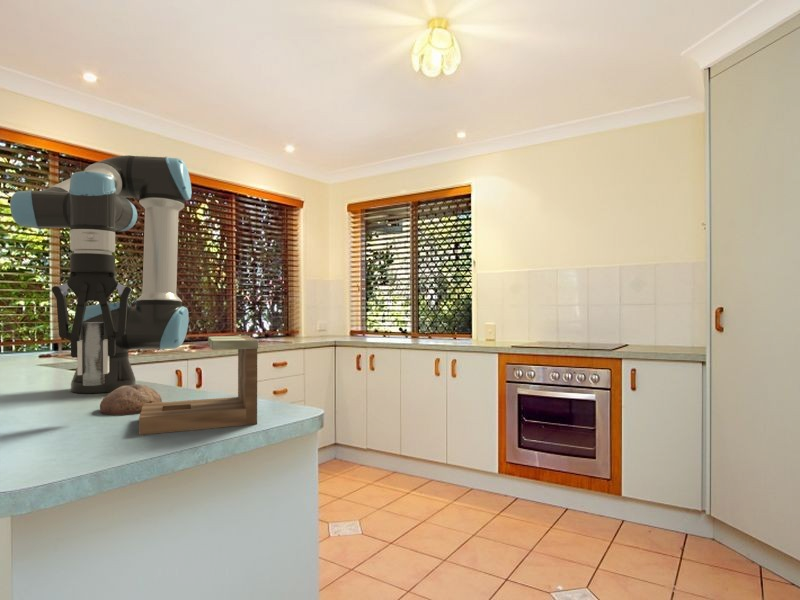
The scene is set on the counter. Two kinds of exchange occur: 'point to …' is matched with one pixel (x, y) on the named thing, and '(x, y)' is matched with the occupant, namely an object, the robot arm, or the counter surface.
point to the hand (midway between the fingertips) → (93, 373)
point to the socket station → (210, 410)
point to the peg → (93, 353)
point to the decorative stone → (128, 400)
